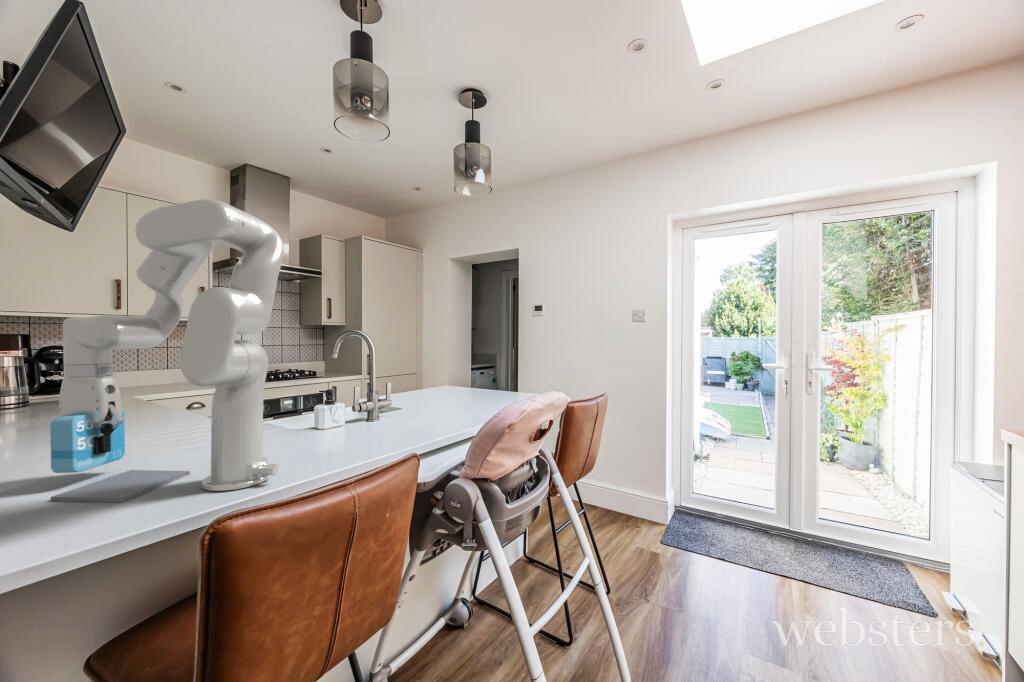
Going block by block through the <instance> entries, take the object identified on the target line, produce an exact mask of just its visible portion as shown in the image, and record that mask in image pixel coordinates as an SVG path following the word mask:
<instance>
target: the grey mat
mask: <svg viewBox="0 0 1024 682" xmlns="http://www.w3.org/2000/svg"><path fill="white" fill-rule="evenodd" d="M188 474H190V475H191V471H190V470H153V469H151V470H150V469H149V470H148V469H147V470H146V469H145V470H144V469H143V470H142V469H139V470H137V469H129V470H127V471H123V472H120V473H119V474H115V475H112V476H109V477H106V478H104V479H100V480H97V481H94V482H91V483H88V484H85V485H81V486H80V487H79V486H78V487H76V488H73V489H70V490H68V491H67V490H66V491H64V492H62V493H61V492H60V493H58V494H55V495H53V496H51V497H50V502H74V501H90V503H92V502H93V503H124V502H126V501H129V500H130V499H129V498H131V499H133V498H132V497H134V498H136V497H138V496H141V495H143V494H146V493H149V492H150V491H153V490H155V488H156V489H158V488H161V487H163V486H164V485H165V486H166V485H167V483H168V484H170V483H172V482H171V481H173V480H175V479H177V480H179V479H178V478H180V477H182V478H184V477H183V476H185V475H187V476H189V475H188ZM185 477H186V476H185ZM180 479H181V478H180ZM175 481H176V480H175ZM169 482H170V483H169ZM173 482H174V481H173ZM162 485H163V486H162ZM145 492H146V493H145ZM142 493H143V494H142ZM140 494H141V495H140ZM135 496H136V497H135ZM128 499H129V500H128ZM125 500H126V501H125ZM91 501H92V502H91ZM123 501H124V502H123Z"/></svg>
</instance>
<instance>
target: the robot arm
mask: <svg viewBox="0 0 1024 682" xmlns="http://www.w3.org/2000/svg"><path fill="white" fill-rule="evenodd" d="M134 229H135V230H134V231H135V232H134V233H135V236H136V238H137V241H138V242H139V243H140V244H141V245H142V246H143V247H145V248H147V249H148V250H151V251H150V253H149V254H148V255H147V256H146V258H145V259H144V261H143V262H142V263H141V265H140V266H139V267H138V268H137V270H136V277H137V278H138V279H139V281H140V282H141V283H142V284H144V285H145V286H146V287H148V289H151V290H153V291H154V295H155V296H154V297H155V298H154V301H153V303H152V305H151V307H150V308H149V309H148V311H147V312H146V313H145V315H143V316H135V315H134V316H133V315H116V314H115V315H113V314H110V315H109V314H106V315H105V314H104V315H97V316H73V317H72V316H71V317H68V318H66V319H64V321H63V322H62V344H63V345H62V349H63V351H62V352H63V353H62V354H63V355H62V356H63V358H62V359H63V379H62V382H61V386H60V391H59V399H58V415H57V417H59V416H64V415H70V414H89V415H90V421H91V423H93V424H94V429H95V433H96V436H97V437H94V439H93V440H94V455H100V454H103V453H107V452H110V451H111V434H113V433H114V430H115V429H116V428H117V427H118V426H119V425H120V424H121V423H122V422H124V423H125V417H124V418H123V417H122V411H123V409H122V408H123V407H122V406H123V405H122V397H121V391H120V390H121V389H120V386H119V383H118V380H117V377H116V376H114V375H113V373H114V372H115V371H116V370H115V367H114V366H113V350H142V349H151V348H155V347H158V346H159V345H161V344H162V343H164V342H165V341H166V340H167V339H168V338H169V336H170V335H171V334H172V332H174V330H175V328H177V326H178V325H179V322H180V321H181V318H182V315H183V306H184V305H183V303H184V302H183V296H182V294H183V293H182V292H183V291H184V289H185V288H186V286H187V285H188V284H189V282H190V281H191V279H192V278H193V277H194V275H196V273H197V271H198V270H199V269H200V268H201V267H202V265H203V264H204V263H205V261H206V260H207V258H208V257H209V256H210V255H211V253H212V252H213V251H214V248H215V245H216V244H218V245H221V246H224V247H228V248H231V249H234V250H237V251H240V252H241V253H242V255H241V257H239V259H238V261H237V262H236V264H235V265H234V267H233V270H232V274H231V279H230V280H231V281H230V284H229V287H225V286H215V287H210V288H208V289H205V290H203V291H202V292H200V293H199V294H198V295H197V296H196V297H195V299H194V300H193V302H192V304H191V306H190V308H189V312H188V317H187V323H186V327H185V333H184V337H183V341H182V348H181V352H180V353H181V354H180V359H179V360H180V365H179V366H180V371H181V373H182V375H183V376H184V379H186V381H188V382H189V383H190V384H192V385H194V386H199V387H202V388H203V387H204V388H205V387H208V388H209V387H216V388H215V390H214V392H213V396H212V399H211V414H210V415H211V416H210V417H211V419H210V420H211V421H210V422H211V423H210V426H211V428H210V475H208V476H206V477H204V479H202V480H201V488H203V489H204V490H205V491H210V492H211V491H212V492H224V491H226V492H227V491H234V490H240V489H244V488H250V487H253V486H256V485H258V484H261V483H265V481H268V480H269V478H270V477H271V476H275V475H277V474H278V471H279V464H278V463H271V464H270V463H269V462H268V457H264V456H263V455H264V454H263V453H264V452H263V451H264V448H263V447H264V446H263V445H264V442H263V437H264V435H263V434H264V432H263V431H264V423H263V422H264V394H265V393H264V392H265V384H266V379H267V376H268V375H267V374H268V369H269V357H268V354H267V352H266V350H265V349H264V348H263V347H262V345H260V344H259V343H258V342H255V341H253V340H248V339H237V338H236V337H237V335H254V334H259V333H262V332H263V331H264V330H265V329H266V328H267V327H268V325H269V324H270V321H271V315H272V310H273V305H274V301H275V296H276V291H277V285H278V280H279V279H278V278H279V274H280V270H281V267H282V264H283V259H284V255H285V247H284V243H283V240H282V238H281V235H279V233H278V231H276V230H275V228H273V227H272V226H271V225H270V224H268V223H267V222H265V221H263V220H261V219H260V218H258V217H256V216H254V215H253V214H250V213H248V212H246V211H244V210H241V209H239V208H237V207H235V206H233V205H230V204H228V203H226V202H224V201H220V200H218V199H213V198H202V199H196V200H190V201H185V202H181V203H176V204H170V205H165V206H163V207H158V208H155V209H152V210H150V211H148V212H146V213H144V214H143V215H142V216H141V217H140V218H139V219H138V221H137V223H136V224H135V228H134ZM113 376H114V377H113ZM111 420H112V421H111ZM102 424H104V426H105V427H104V428H103V429H102Z"/></svg>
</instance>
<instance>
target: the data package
mask: <svg viewBox="0 0 1024 682" xmlns="http://www.w3.org/2000/svg"><path fill="white" fill-rule="evenodd" d="M58 416H59V415H58ZM58 416H56V417H54V418H53V419H52V420H51V422H50V430H49V431H50V436H49V437H50V468H51V471H52V472H53V473H55V474H68V473H70V474H71V473H82V472H84V471H88V470H90V469H95V468H97V467H101V466H103V465H106V464H109V463H112V462H115V461H119V460H121V459H122V458H123V457H124V456H125V454H126V443H125V442H126V439H125V434H126V433H125V421H124V422H122V423H121V424H120V425H119V426H118V427H117V428H116V429H115V430H114V433H113V434H111V451H110V452H107V453H103V454H100V455H94V440H93V439H94V437H97V436H96V433H95V429H94V424H93V423H91V421H90V415H89V414H70V415H64V416H59V417H58ZM122 417H123V418H124V419H125V412H124V411H123V410H122ZM111 421H112V420H111ZM104 427H105V426H104V424H102V429H103V428H104Z"/></svg>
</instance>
